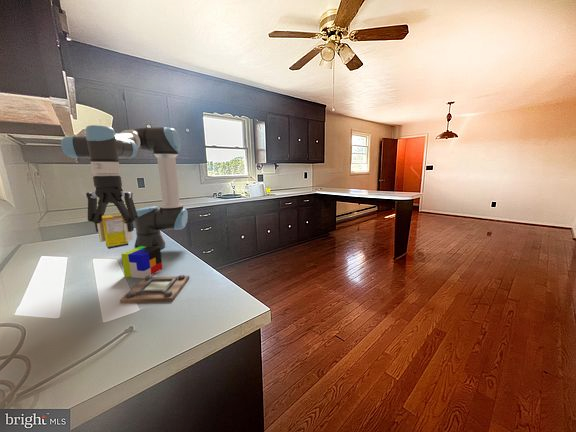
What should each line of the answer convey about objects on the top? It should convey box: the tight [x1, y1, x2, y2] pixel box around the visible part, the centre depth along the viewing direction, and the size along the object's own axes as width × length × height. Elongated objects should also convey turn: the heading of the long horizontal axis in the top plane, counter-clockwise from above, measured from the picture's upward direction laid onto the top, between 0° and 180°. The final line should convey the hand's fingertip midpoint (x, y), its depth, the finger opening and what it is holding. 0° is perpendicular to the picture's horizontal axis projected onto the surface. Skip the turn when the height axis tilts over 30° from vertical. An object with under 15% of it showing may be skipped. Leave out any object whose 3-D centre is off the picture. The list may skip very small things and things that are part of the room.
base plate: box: [119, 274, 190, 304], centre depth 88 cm, size 17×17×2 cm
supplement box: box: [102, 212, 129, 250], centre depth 83 cm, size 6×6×11 cm
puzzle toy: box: [121, 246, 163, 279], centre depth 102 cm, size 10×10×10 cm
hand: (116, 240), depth 84 cm, fingers closed on supplement box, 8 cm apart
